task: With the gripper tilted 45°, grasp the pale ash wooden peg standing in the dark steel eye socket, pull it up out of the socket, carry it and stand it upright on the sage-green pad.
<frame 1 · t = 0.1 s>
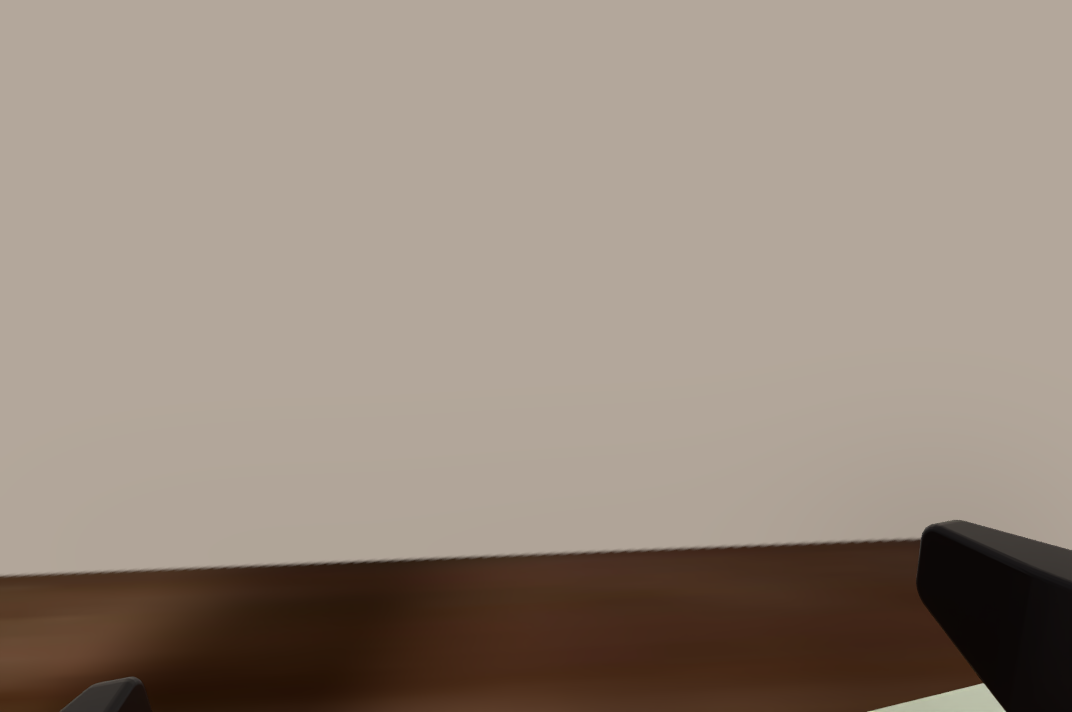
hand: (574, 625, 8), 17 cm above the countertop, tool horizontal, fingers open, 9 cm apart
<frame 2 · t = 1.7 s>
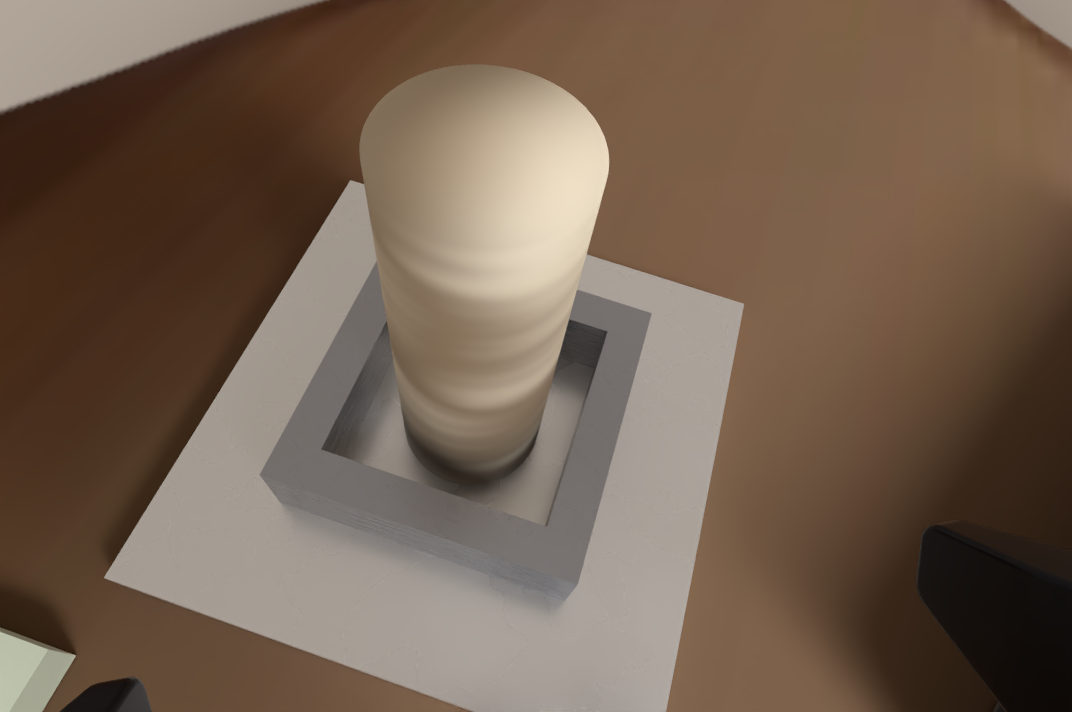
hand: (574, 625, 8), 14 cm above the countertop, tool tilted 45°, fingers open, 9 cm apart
ash peg: (472, 420, 23), point 1 cm above the countertop, touching eye block
eye block: (471, 431, 23), on the countertop
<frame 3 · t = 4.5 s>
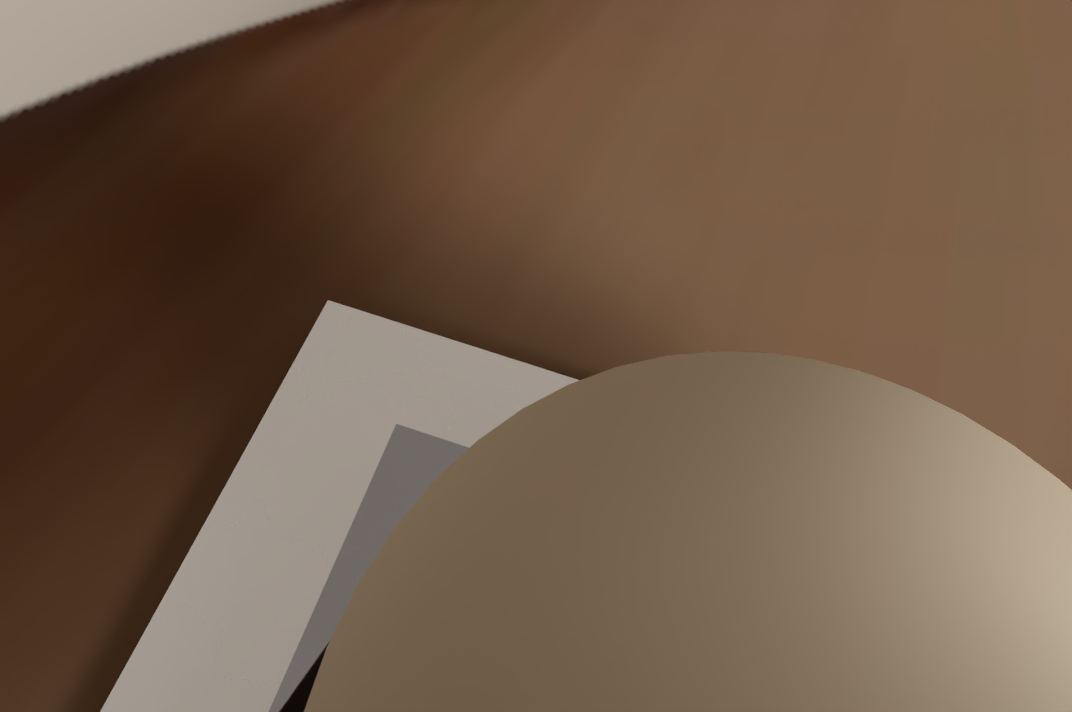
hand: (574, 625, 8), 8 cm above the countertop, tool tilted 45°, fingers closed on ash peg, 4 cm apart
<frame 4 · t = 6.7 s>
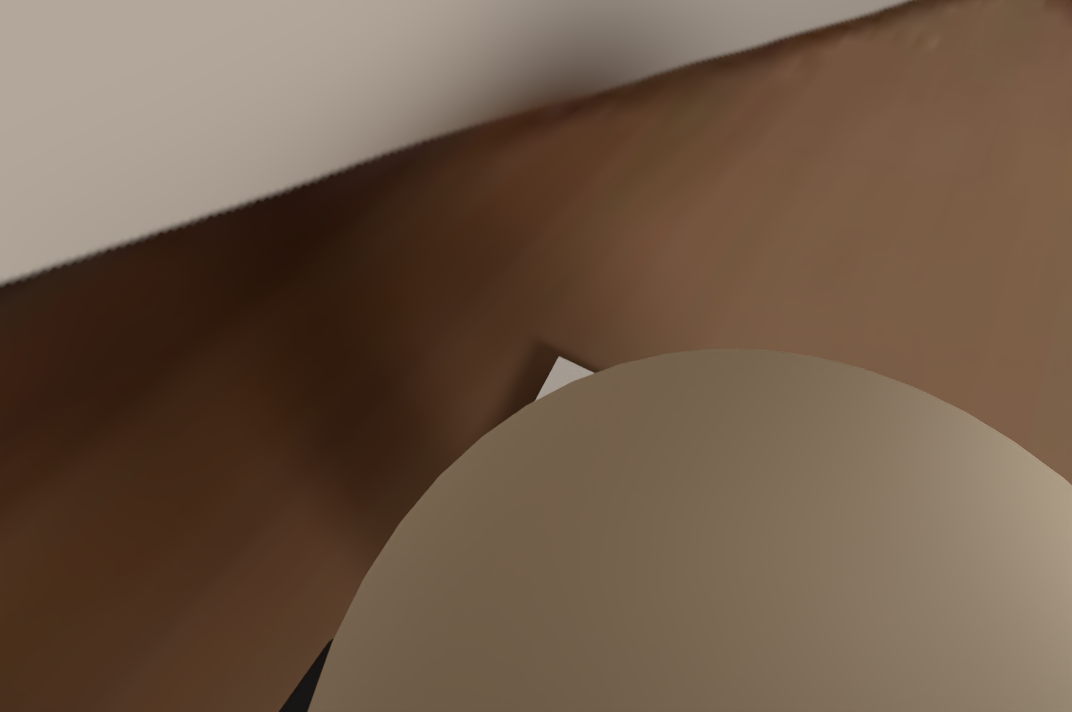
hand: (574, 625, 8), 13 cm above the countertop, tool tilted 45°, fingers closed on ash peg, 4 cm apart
eye block: (688, 705, 20), on the countertop
when the fingers open (10 cm above the countertop, at t = 9.2 s): ash peg drops 1 cm, resting on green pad.
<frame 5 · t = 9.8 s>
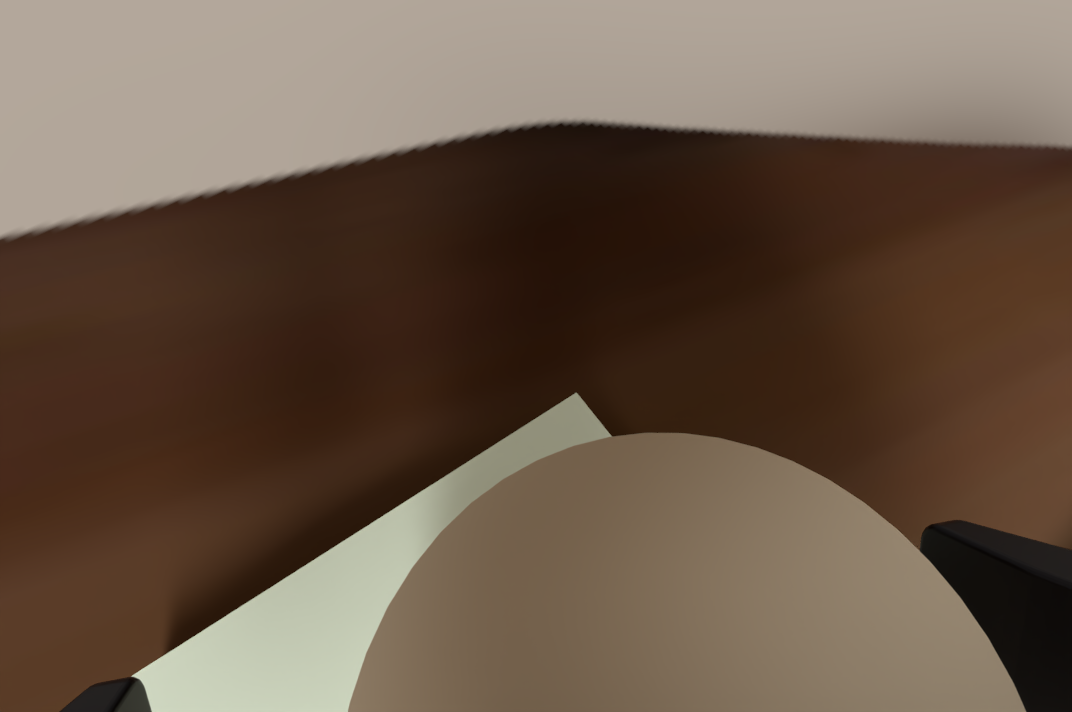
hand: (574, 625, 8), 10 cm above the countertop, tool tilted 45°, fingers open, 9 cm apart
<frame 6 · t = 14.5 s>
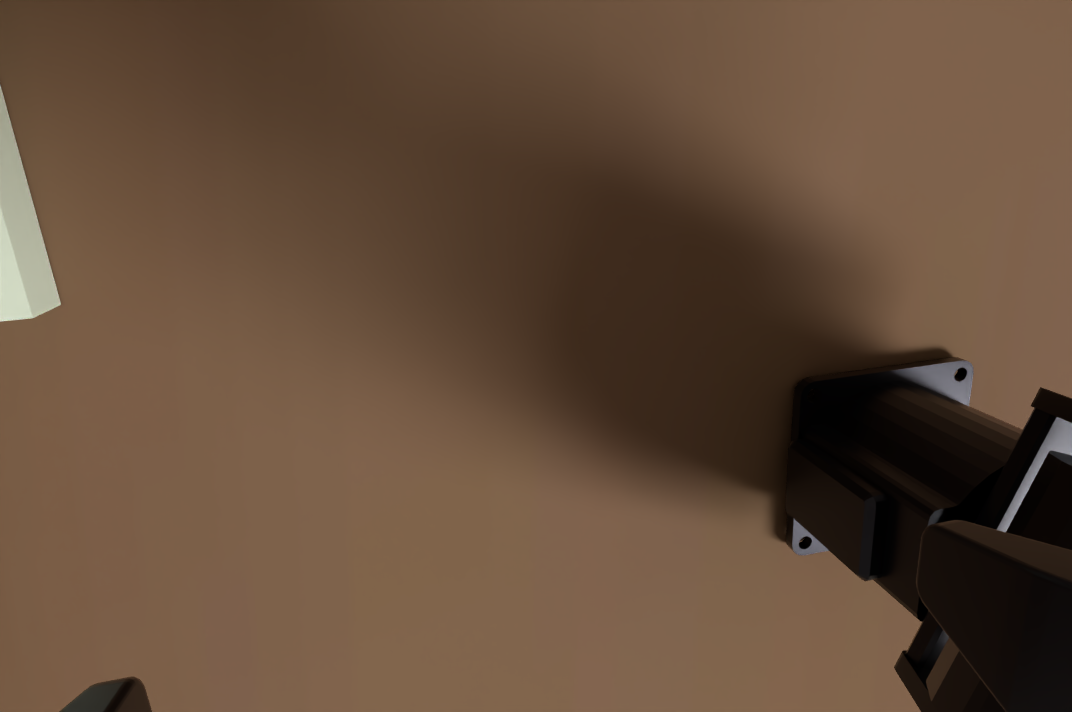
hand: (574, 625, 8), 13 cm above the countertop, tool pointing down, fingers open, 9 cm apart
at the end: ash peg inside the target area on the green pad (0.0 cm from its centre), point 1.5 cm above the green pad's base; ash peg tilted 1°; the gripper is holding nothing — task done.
